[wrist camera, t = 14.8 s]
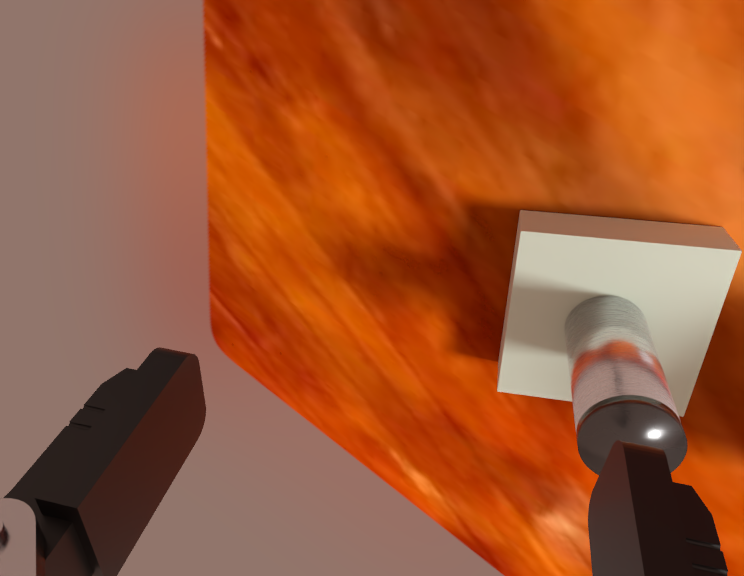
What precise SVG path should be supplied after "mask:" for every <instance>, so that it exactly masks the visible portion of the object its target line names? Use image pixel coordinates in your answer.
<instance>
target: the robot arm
mask: <svg viewBox="0 0 744 576" xmlns="http://www.w3.org/2000/svg"><path fill="white" fill-rule="evenodd" d="M205 416H206V406H205V399H204V392H203V385H202V380H201V373H200V366H199V360H198V358H197V356H196V355H195V354H190V353H185V352H180V351H175V350H170V349H165V348H156V349H154V350H153V351H152V352H151V353H150V354H149V356H148V357H147V358H146V359H145V361H144V362H143V363H142V364H141V366H140V367H139V368H138V369H137V370H134V369H129V368H126V369H124V370H123V371H121V372H120V373H118V374H116V375H115V376H113V377H112V378H110V379H109V380H107V381H106V382H104V383H102V384H101V385H100V387H99V388H98V389H97V390H96V391H95V392H94V394H93V395H92V396H91V397H90V398H89V400H88V401H87V402H86V403H85V404H84V408H83V409H80V410H79V411H78V412H77V414H76V415H75V416H74V417H73V418H72V419H71V421H70V424H69V426H66V427H65V428H64V429H63V430H62V431H61V432H60V434H59V435H58V436H57V437H56V438H55V439H54V441H53V442H52V443H51V444H50V445H49V447H48V448H47V449H46V450H45V451H44V452H43V454H42V455H41V456H40V457H39V458H38V459H37V461H36V462H35V463H34V465H32V467H31V468H30V469H29V470H28V471H27V473H26V474H25V475H24V476H23V477H22V478H21V480H20V481H19V482H18V483H17V484H16V486H15V487H14V488H13V489H12V490H11V491H10V492H9V493H8V494H7V495H6V496H5V497H4V498H1V499H0V576H117V575H118V573H119V571H120V569H121V568H122V566H123V564H124V563H125V561H126V559H127V557H128V556H129V554H130V553H131V551H132V549H133V548H134V546H135V544H136V542H137V541H138V539H139V537H140V536H141V534H142V532H143V531H144V529H145V527H146V526H147V524H148V522H149V521H150V519H151V517H152V515H153V514H154V512H155V511H156V509H157V507H158V505H159V503H160V502H161V500H162V499H163V497H164V495H165V494H166V492H167V490H168V489H169V487H170V485H171V484H172V482H173V480H174V479H175V477H176V475H177V473H178V472H179V470H180V468H181V467H182V465H183V463H184V462H185V460H186V458H187V457H188V455H189V453H190V452H191V450H192V448H193V447H194V445H195V443H196V441H197V440H198V438H199V436H200V434H201V431H202V429H203V425H204V421H205ZM588 528H589V539H590V550H591V561H592V573H593V576H727V572H728V569H727V566H726V562H725V559H724V555H723V552H722V551H720V546H721V545H720V541H719V538H718V534H717V531H716V527H715V524H714V520H713V517H712V514H711V513H710V511H709V510H708V509H707V507H706V506H705V504H704V503H703V502H702V500H701V499H700V497H699V496H698V494H697V493H696V492H695V490H694V489H693V487H692V486H689V485H684V484H679V483H675V482H672V478H671V474H670V469H669V465H668V461H667V457H666V454H665V452H664V451H663V450H662V449H660V448H655V447H650V446H645V445H640V444H635V443H630V442H625V441H620V440H617V441H615V443H614V444H613V446H612V448H611V450H610V453H609V455H608V457H607V459H606V462H605V464H604V466H603V468H602V471H601V473H600V475H599V478H598V480H597V482H596V484H595V487H594V489H593V491H592V495H591V499H590V504H589V512H588Z"/></svg>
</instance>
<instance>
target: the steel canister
mask: <svg viewBox="0 0 744 576" xmlns="http://www.w3.org/2000/svg"><path fill="white" fill-rule="evenodd" d="M564 333H565V341H566V350H567V358H568V367H569V375H570V384H571V393H572V401H573V410H574V418H575V427H576V436H577V444H578V451H579V454H580V457H581V459H582V460H583V462H584V463H585V464H586V466H587V467H588V468H589V469H591V470H592V471H593V472H595V473H596V474H598V475H600V473H601V471H602V468H603V466H604V464H605V462H606V459H607V457H608V455H609V453H610V450H611V448H612V446H613V444H614V443H615V441H617V440H620V441H625V442H630V443H635V444H640V445H645V446H650V447H655V448H660V449H662V450H663V451H664V452H665V454H666V457H667V461H668V465H669V469H670V473H671V472H672V471H674V470H675V469H676V468H677V467H678V466H679V465H680V464H681V462H682V461H683V459H684V457H685V455H686V452H687V439H686V436H685V433H684V430H683V427H682V424H681V421H680V418H679V415H678V412H677V409H676V406H675V403H674V400H673V398H672V395H671V392H670V389H669V386H668V383H667V380H666V377H665V374H664V371H663V368H662V365H661V362H660V360H659V357H658V354H657V351H656V348H655V345H654V342H653V339H652V336H651V333H650V330H649V327H648V324H647V322H646V319H645V316H644V314H643V312H642V311H641V310H640V309H639V307H638V306H636V305H635V304H634V303H632V302H631V301H629V300H627V299H624V298H621V297H617V296H597V297H593V298H590V299H587V300H585V301H583V302H581V303H580V304H578V305H577V306H576V307H575V308H574V309H573V310H572V311H571V312H570V314H569V315H568V317H567V319H566V322H565V327H564Z"/></svg>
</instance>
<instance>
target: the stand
mask: <svg viewBox="0 0 744 576" xmlns="http://www.w3.org/2000/svg"><path fill="white" fill-rule="evenodd" d="M741 252H742V251H741V249H740V248H739V247H738V245H737V244H736V243H735V242H734V240H733V239H732V238H731V237H730V235H729V234H728V233H727V232H726V230H725V229H724V228H723V227H716V226H704V225H693V224H681V223H669V222H657V221H645V220H634V219H622V218H610V217H598V216H586V215H574V214H563V213H551V212H539V211H527V210H520V214H519V221H518V228H517V235H516V242H515V249H514V256H513V263H512V270H511V277H510V284H509V291H508V297H507V304H506V311H505V318H504V325H503V332H502V339H501V346H500V353H499V360H498V384H497V391H499V392H506V393H513V394H521V395H528V396H535V397H543V398H550V399H557V400H565V401H572V393H571V384H570V375H569V367H568V358H567V350H566V341H565V333H564V327H565V322H566V319H567V317H568V315H569V314H570V312H571V311H572V310H573V309H574V308H575V307H576V306H577V305H578V304H580V303H581V302H583V301H585V300H587V299H590V298H593V297H597V296H617V297H621V298H624V299H627V300H629V301H631V302H632V303H634V304H635V305H636V306H638V307H639V309H640V310H641V311H642V312H643V314H644V316H645V319H646V322H647V324H648V327H649V330H650V333H651V336H652V339H653V342H654V345H655V348H656V351H657V354H658V357H659V360H660V362H661V365H662V368H663V371H664V374H665V377H666V380H667V383H668V386H669V389H670V392H671V395H672V398H673V400H674V403H675V406H676V409H677V412H678V415H679V416H682V417H684V414H685V411H686V408H687V406H688V403H689V400H690V397H691V394H692V391H693V388H694V386H695V383H696V380H697V377H698V374H699V371H700V369H701V366H702V363H703V360H704V357H705V354H706V352H707V349H708V346H709V343H710V340H711V337H712V334H713V332H714V329H715V326H716V323H717V320H718V317H719V315H720V312H721V309H722V306H723V303H724V300H725V298H726V295H727V292H728V289H729V286H730V283H731V281H732V278H733V275H734V272H735V269H736V266H737V263H738V261H739V258H740V255H741ZM572 402H573V401H572Z"/></svg>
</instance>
